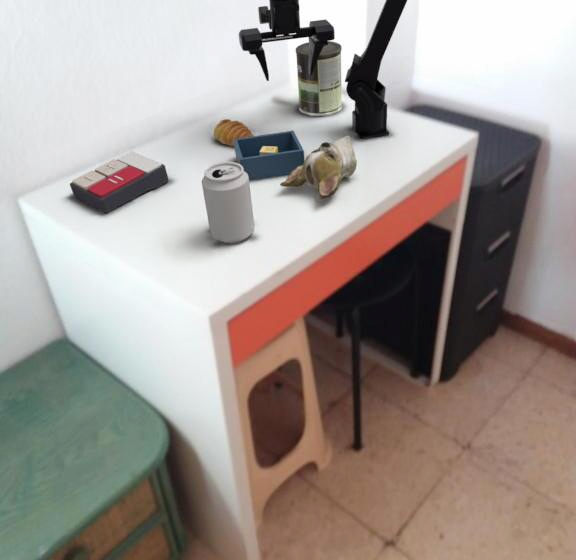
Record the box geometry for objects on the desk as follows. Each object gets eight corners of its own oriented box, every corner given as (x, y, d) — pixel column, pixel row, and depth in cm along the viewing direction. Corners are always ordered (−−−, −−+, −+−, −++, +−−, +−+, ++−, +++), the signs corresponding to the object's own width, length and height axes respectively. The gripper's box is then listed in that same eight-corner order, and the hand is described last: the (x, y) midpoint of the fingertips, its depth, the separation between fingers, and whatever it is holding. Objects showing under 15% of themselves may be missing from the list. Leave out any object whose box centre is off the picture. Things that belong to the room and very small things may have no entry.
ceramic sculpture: (371, 133, 109) (320, 170, 101) (372, 175, 114) (324, 213, 106) (325, 121, 115) (273, 155, 107) (328, 162, 120) (279, 197, 112)
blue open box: (294, 151, 126) (293, 130, 123) (305, 172, 118) (303, 150, 115) (236, 159, 124) (233, 139, 122) (242, 181, 117) (239, 159, 114)
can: (211, 224, 105) (200, 161, 98) (254, 219, 105) (246, 156, 98) (210, 248, 99) (198, 182, 92) (256, 243, 99) (248, 177, 92)
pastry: (262, 141, 131) (260, 124, 129) (238, 152, 127) (236, 135, 125) (234, 130, 137) (231, 114, 134) (210, 140, 133) (208, 124, 131)
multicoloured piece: (67, 180, 114) (130, 147, 122) (74, 199, 117) (136, 166, 125) (99, 196, 108) (164, 161, 116) (106, 217, 111) (169, 181, 119)
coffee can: (297, 117, 140) (293, 55, 132) (301, 100, 148) (297, 41, 140) (341, 116, 139) (340, 53, 130) (343, 99, 147) (342, 39, 139)
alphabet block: (263, 159, 122) (262, 145, 121) (278, 159, 122) (277, 145, 120) (260, 166, 120) (258, 151, 118) (275, 166, 119) (274, 152, 118)
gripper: (320, -16, 125) (323, 60, 134) (231, -6, 123) (240, 71, 132) (334, -5, 116) (335, 76, 125) (238, 6, 114) (247, 88, 123)
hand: (289, 77), depth 127 cm, fingers open, 9 cm apart
